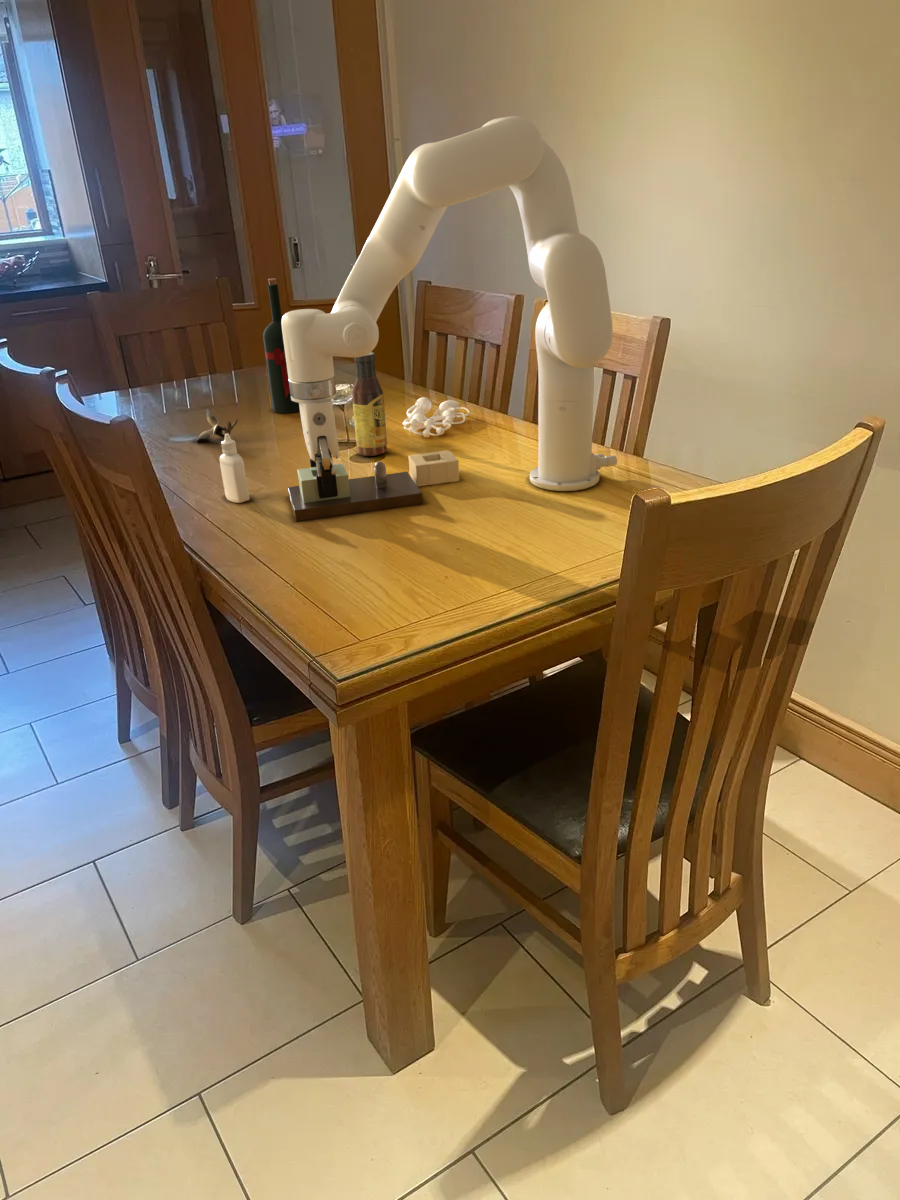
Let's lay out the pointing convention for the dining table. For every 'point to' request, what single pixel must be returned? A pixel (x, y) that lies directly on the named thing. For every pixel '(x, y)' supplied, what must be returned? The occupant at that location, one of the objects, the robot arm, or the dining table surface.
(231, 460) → the eye dropper bottle
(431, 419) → the tangled rod sculpture
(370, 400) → the sauce bottle
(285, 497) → the dining table surface
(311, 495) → the green block with hole
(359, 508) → the peg board base
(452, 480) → the beige block with hole
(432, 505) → the dining table surface
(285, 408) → the wine bottle
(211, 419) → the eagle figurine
